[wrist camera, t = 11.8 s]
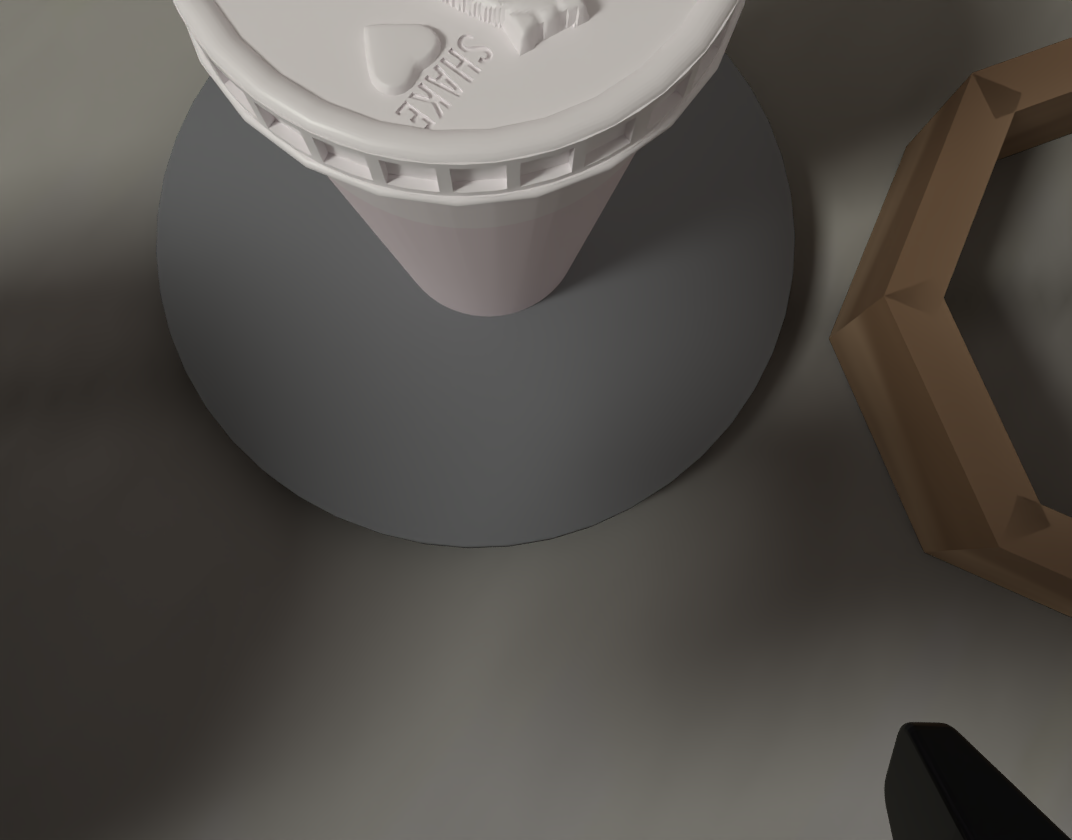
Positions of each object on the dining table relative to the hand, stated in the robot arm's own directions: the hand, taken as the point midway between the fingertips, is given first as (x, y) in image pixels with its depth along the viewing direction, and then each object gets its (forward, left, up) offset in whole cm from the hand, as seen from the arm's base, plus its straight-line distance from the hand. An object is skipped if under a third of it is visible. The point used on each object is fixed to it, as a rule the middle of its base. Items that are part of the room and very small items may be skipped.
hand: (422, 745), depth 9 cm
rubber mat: (+3, +8, -10) cm, 13 cm away
